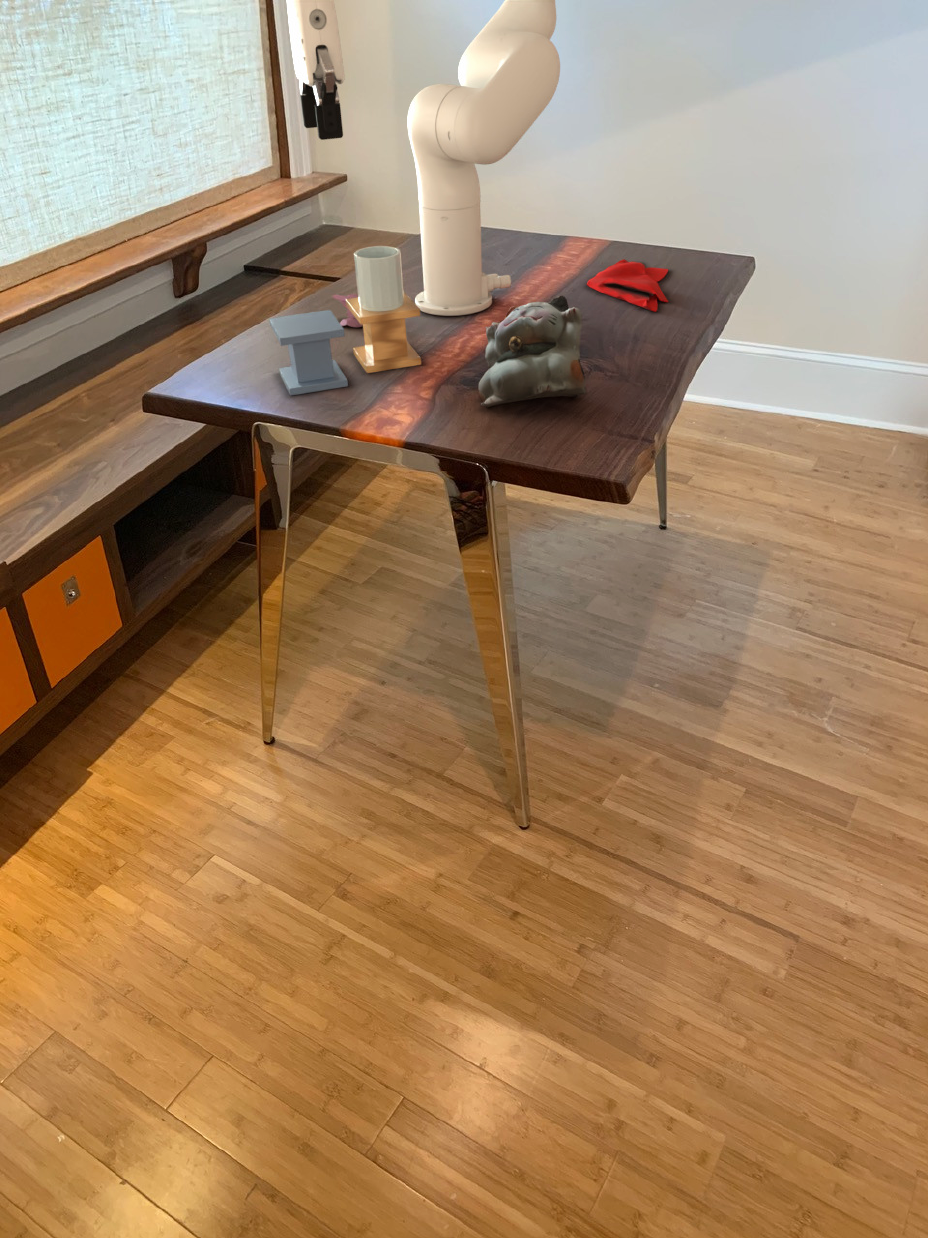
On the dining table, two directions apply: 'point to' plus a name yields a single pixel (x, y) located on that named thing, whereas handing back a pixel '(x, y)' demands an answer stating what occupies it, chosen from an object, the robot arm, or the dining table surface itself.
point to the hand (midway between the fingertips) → (323, 132)
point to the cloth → (631, 283)
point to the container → (379, 278)
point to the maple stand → (385, 337)
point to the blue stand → (309, 351)
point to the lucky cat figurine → (534, 354)
